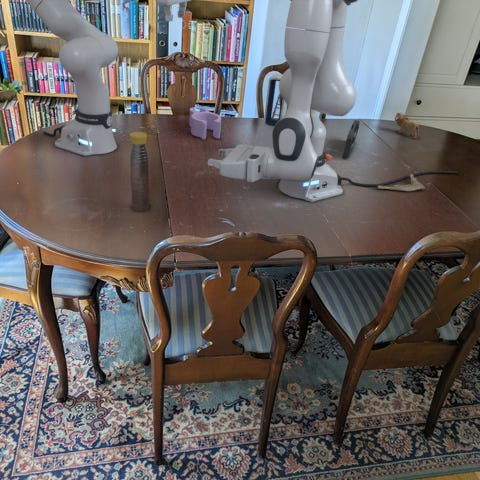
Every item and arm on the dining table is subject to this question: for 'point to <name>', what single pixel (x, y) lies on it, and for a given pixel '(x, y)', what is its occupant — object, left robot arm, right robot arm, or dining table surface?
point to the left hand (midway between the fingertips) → (175, 19)
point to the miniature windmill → (279, 92)
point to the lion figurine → (406, 124)
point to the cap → (138, 138)
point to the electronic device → (269, 115)
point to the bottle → (139, 177)
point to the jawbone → (405, 186)
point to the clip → (204, 123)
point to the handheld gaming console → (351, 139)
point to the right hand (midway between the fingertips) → (213, 156)
